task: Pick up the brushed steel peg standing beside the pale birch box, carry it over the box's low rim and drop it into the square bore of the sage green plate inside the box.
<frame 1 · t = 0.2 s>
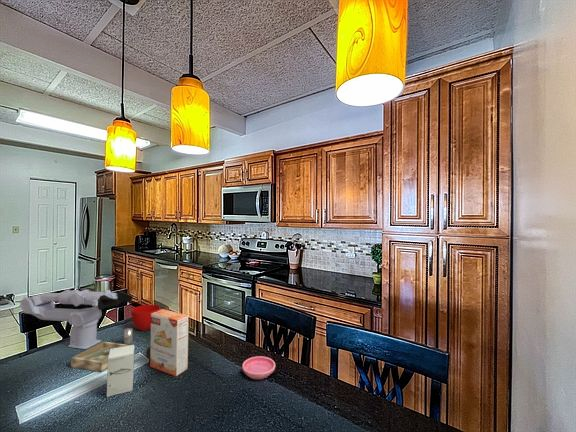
hand: (124, 300, 116), 21 cm above the kitchen island, tool horizontal, fingers open, 7 cm apart
red bowl: (147, 329, 137), on the kitchen island
open box: (102, 360, 107), on the kitchen island
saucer: (258, 373, 101), on the kitchen island
cracker box: (168, 369, 102), on the kitchen island
supplement box: (120, 388, 90), on the kitchen island
peg: (128, 345, 120), on the kitchen island
bolt: (163, 351, 116), on the kitchen island
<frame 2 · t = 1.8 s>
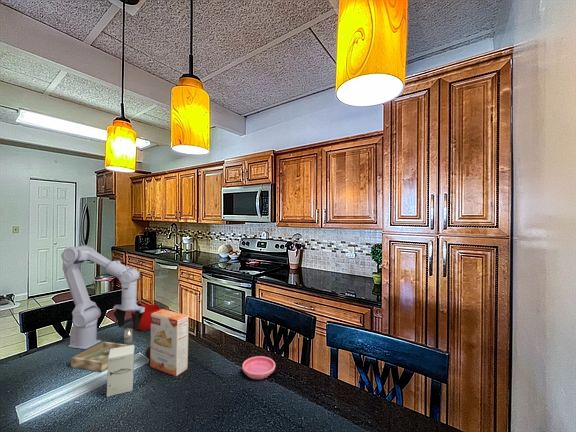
hand: (128, 327, 120), 8 cm above the kitchen island, tool pointing down, fingers open, 7 cm apart
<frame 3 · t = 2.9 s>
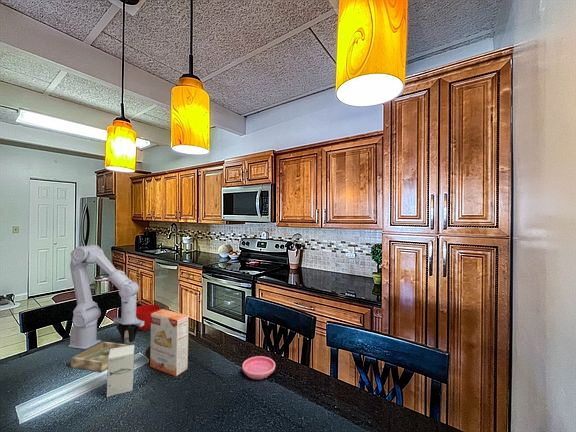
hand: (128, 340, 120), 2 cm above the kitchen island, tool pointing down, fingers closed on peg, 3 cm apart
peg: (128, 345, 120), on the kitchen island, touching gripper
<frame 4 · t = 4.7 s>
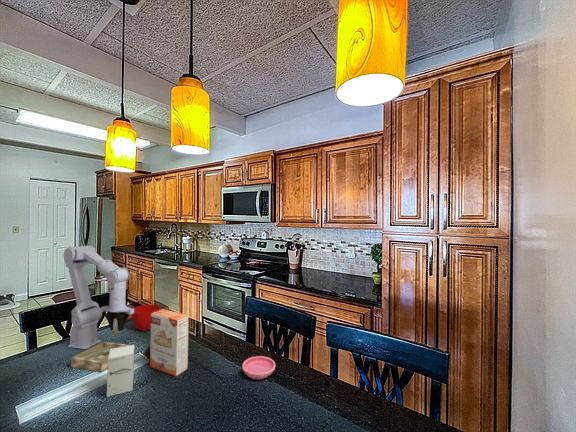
hand: (117, 329, 114), 9 cm above the kitchen island, tool pointing down, fingers closed on peg, 3 cm apart
peg: (117, 334, 114), point 7 cm above the kitchen island, touching gripper
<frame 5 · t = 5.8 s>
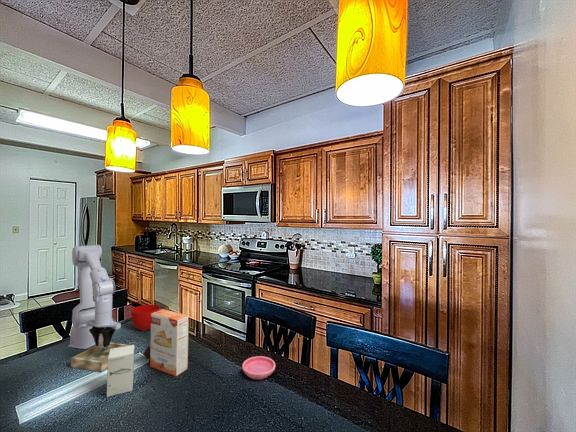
hand: (102, 345, 107), 6 cm above the kitchen island, tool pointing down, fingers closed on peg, 3 cm apart
peg: (102, 350, 107), point 4 cm above the kitchen island, touching gripper
when the fingers open (3 cm above the kitchen island, at t = 6.6 s): peg stays where it is, resting on open box.
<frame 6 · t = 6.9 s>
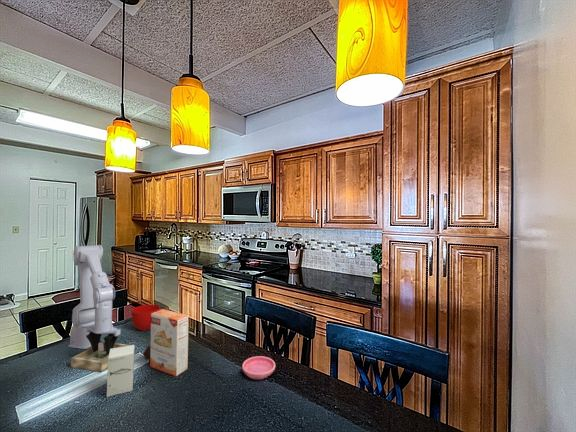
hand: (102, 351, 107), 3 cm above the kitchen island, tool pointing down, fingers open, 6 cm apart
peg: (102, 358, 107), point 1 cm above the kitchen island, touching open box
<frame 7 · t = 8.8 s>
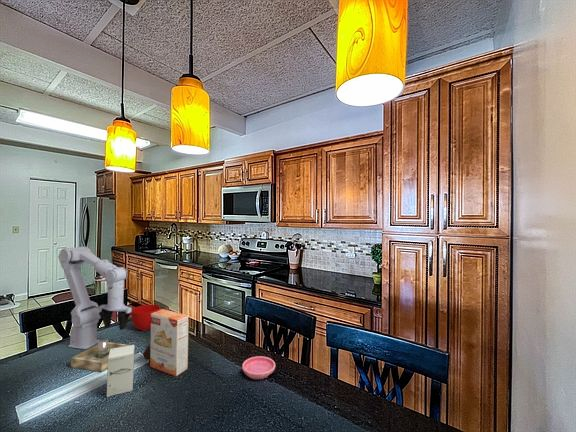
hand: (115, 328, 115), 9 cm above the kitchen island, tool pointing down, fingers open, 7 cm apart
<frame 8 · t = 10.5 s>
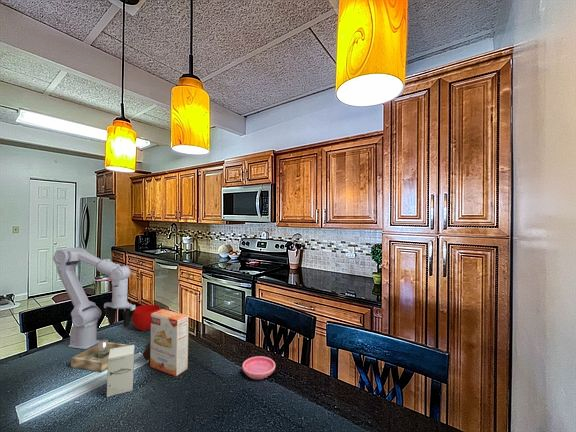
hand: (119, 325, 119), 9 cm above the kitchen island, tool pointing down, fingers open, 7 cm apart
at the end: peg 0.1 cm off-centre on the open box, point 0.5 cm above the open box's base; peg tilted 0°; the gripper is holding nothing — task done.
